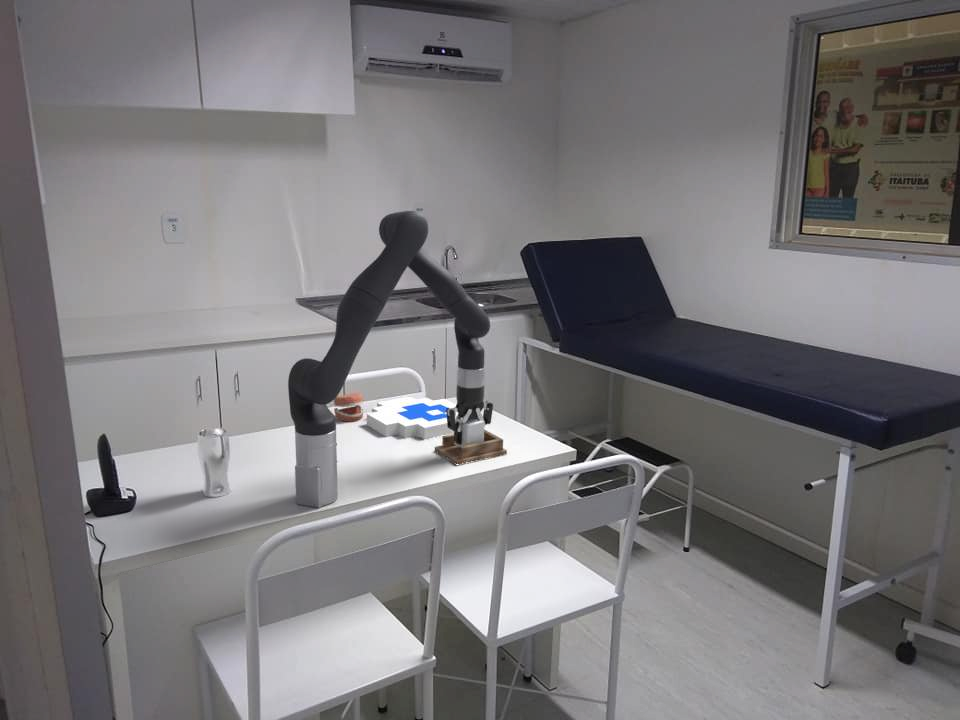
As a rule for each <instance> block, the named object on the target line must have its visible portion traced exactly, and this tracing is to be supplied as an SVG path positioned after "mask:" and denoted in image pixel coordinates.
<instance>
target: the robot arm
mask: <svg viewBox="0 0 960 720" xmlns="http://www.w3.org/2000/svg"><path fill="white" fill-rule="evenodd" d="M378 234H379V237H380V239H381V240H380V241H382V243H383V244H384V245H385V246H384V248H383V250H382V251H381V252H380V254H379V255H378V256H377V257H376V259H375V260H373V262H371V263H370V264H369V265H368V266H367V267H366V268H365V269H364V270H362V272H361V273H360V274H359V275H357V277H355V279H354V280H352V283H351V284H350V285H349V287H348V289H347V290H346V291H345V293H344V295H343V297H342V299H341V301H340V302H339V304H338V308H337V311H336V322H335V334H334V339H333V342H332V344H331V346H330V347H329V349H328V351H327V353H326V355H325V356H324V357H323V359H322V360H317V359H313V358H307V357H306V358H302V359H300V360H298V361H296V362H295V363H294V364H293V366H291V369H290V372H289V375H288V381H287V387H288V388H287V389H288V400H289V412H290V416H291V419H292V421H293V424H294V435H295V436H294V439H295V440H294V441H295V442H294V443H295V465H294V477H295V478H294V481H295V500H296V501H295V502H296V505H300V506H301V505H303V506H308V507H312V508H313V507H315V508H319V509H320V508H321V507H323V506H326V505H327V506H328V505H330V504H332V503H334V502H336V501H337V499H338V497H339V495H338V494H339V493H338V490H339V489H338V462H337V461H338V460H337V459H338V456H337V455H338V454H337V453H338V452H337V446H336V443H337V419H336V418H337V417H336V415H335V413H333V412H332V411H331V409H329V407H328V406H327V404H330V403H331V402H334V399H335V398H336V397H337V396H339V394H340V392H341V391H342V388H343V387H344V385H345V383H346V380H347V378H348V375H349V373H351V372H350V371H351V369H352V367H353V365H354V363H355V360H356V358H357V356H358V354H359V352H360V350H361V348H362V346H363V344H364V343H365V341H366V339H367V337H368V335H369V334H370V331H372V329H373V327H374V325H375V324H376V321H377V320H378V319H379V317H380V315H381V313H383V310H384V308H385V306H386V305H387V302H388V300H389V299H390V297H391V295H392V294H393V293H394V290H395V288H396V287H397V285H398V283H399V282H400V280H401V278H402V276H403V274H404V273H405V271H406V270H407V268H409V269H410V271H412V272H413V273H414V274H415V275H416V276H417V278H418V279H420V280H421V281H422V283H424V285H425V286H426V287H427V289H428V290H429V291H430V292H431V294H432V295H433V296H434V297H435V298H436V300H437V301H438V302H439V304H440V306H442V308H444V310H445V311H446V312H447V313H449V314H451V315H452V316H454V318H455V319H454V322H453V325H454V327H453V329H454V334H455V340H456V341H455V342H456V346H457V351H458V357H457V371H456V396H455V397H456V403H455V404H456V407H454V408H447V409H446V415H447V427H448V428H449V429H451V430H453V431H454V433H453V434H454V441H455V442H456V443H457V444H458V445H459V444H461V443H462V432H461V430H462V428H463V424H466V422H467V420H470V419H478V420H480V421H484V428H485V427H486V426H487V425H491V423H492V417H493V410H494V404H493V403H492V402H490V401H488V400H486V401H484V399H485V383H486V382H485V380H486V379H485V377H486V374H485V349H484V346H482V344H481V343H480V341H479V339H481V338H484V337H485V336H487V335H488V333H489V332H490V329H491V322H490V318H489V316H488V314H487V313H486V312H485V310H484V309H482V308H481V306H480V305H479V304H478V303H477V302H476V301H475V300H474V299H473V298H472V297H471V296H470V295H468V293H467V291H466V290H465V289H464V288H463V286H462V284H461V283H460V282H459V281H458V280H457V278H456V277H455V275H453V273H451V271H449V270H448V269H447V268H445V266H443V265H442V264H441V263H439V262H438V261H436V260H435V259H434V258H433V257H432V256H431V255H429V253H427V252H426V250H424V248H423V246H424V244H425V243H426V240H427V239H428V235H429V224H428V220H427V219H426V217H425V215H423V214H422V213H421V212H419V211H415V210H405V211H396V212H393V213H389V214H386V215H385V216H384V217H383V218H382V219H381V220H380V223H379V227H378ZM456 412H458V415H457V417H456V422H455V416H456ZM482 412H483V414H482ZM461 418H463V419H462V420H461ZM458 424H459V426H458Z"/></svg>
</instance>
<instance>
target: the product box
mask: <svg viewBox="0 0 960 720" xmlns="http://www.w3.org/2000/svg"><path fill="white" fill-rule="evenodd" d="M462 419H463V418H461V420H462ZM455 422H456V419H455ZM458 426H459V424H458ZM484 429H485V427H484V421H480V420H478V419H470V420H467V422H466V424H463V428H462V430H461V432H462V443H461V444H459V445H458V444H457V443H456V442H455V441H454V445H457V446H459V447H462V446H467V445H471V444H476V443H481V442H484Z"/></svg>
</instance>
